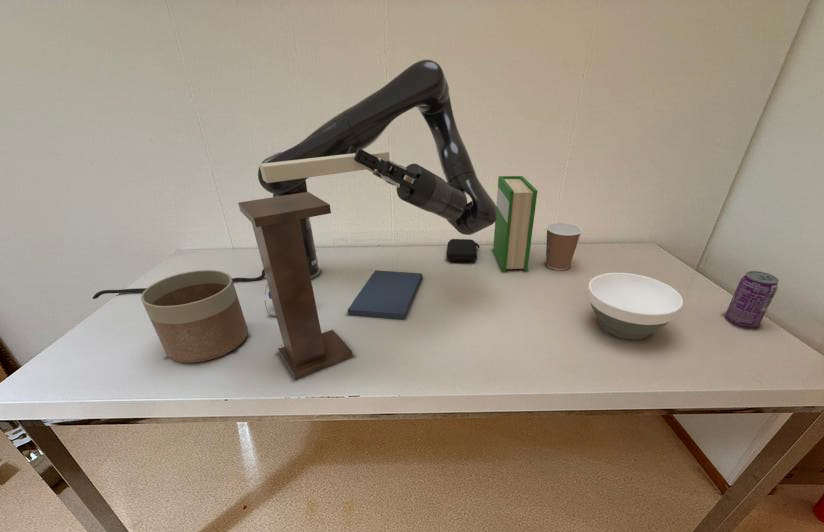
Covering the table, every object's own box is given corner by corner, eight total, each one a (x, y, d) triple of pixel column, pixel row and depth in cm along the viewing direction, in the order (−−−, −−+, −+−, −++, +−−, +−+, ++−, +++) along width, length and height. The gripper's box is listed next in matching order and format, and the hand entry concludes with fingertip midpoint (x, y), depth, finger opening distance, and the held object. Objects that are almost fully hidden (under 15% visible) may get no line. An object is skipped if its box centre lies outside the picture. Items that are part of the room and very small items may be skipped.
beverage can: (753, 316, 96) (775, 272, 90) (762, 331, 91) (786, 285, 84) (720, 311, 98) (739, 268, 92) (728, 325, 93) (748, 280, 86)
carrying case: (480, 264, 121) (478, 246, 134) (480, 255, 120) (479, 237, 132) (446, 263, 122) (448, 245, 134) (446, 254, 120) (448, 237, 133)
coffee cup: (548, 256, 127) (554, 220, 121) (579, 264, 122) (587, 227, 116) (535, 266, 120) (540, 229, 114) (567, 275, 115) (574, 237, 109)
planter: (173, 331, 89) (149, 277, 82) (249, 317, 94) (233, 265, 87) (160, 373, 76) (131, 313, 69) (248, 354, 82) (230, 297, 75)
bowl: (689, 347, 85) (704, 310, 80) (606, 356, 82) (617, 318, 77) (638, 303, 101) (648, 270, 96) (567, 309, 99) (574, 275, 94)
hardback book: (527, 271, 117) (537, 190, 105) (502, 272, 117) (510, 190, 104) (514, 249, 132) (522, 175, 120) (493, 249, 132) (498, 176, 119)
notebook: (348, 314, 95) (347, 309, 95) (375, 274, 114) (375, 270, 114) (404, 319, 94) (403, 314, 93) (422, 278, 113) (422, 273, 112)
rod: (267, 183, 61) (263, 166, 60) (262, 180, 63) (259, 163, 61) (390, 166, 72) (389, 151, 71) (383, 164, 74) (382, 150, 73)
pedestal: (295, 379, 75) (253, 217, 58) (279, 354, 82) (237, 202, 65) (352, 356, 81) (329, 204, 65) (333, 334, 88) (308, 191, 71)
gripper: (413, 166, 84) (343, 127, 72) (452, 179, 75) (379, 136, 63) (400, 199, 86) (329, 166, 74) (436, 215, 77) (362, 181, 64)
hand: (353, 153), depth 68 cm, fingers closed on rod, 2 cm apart
